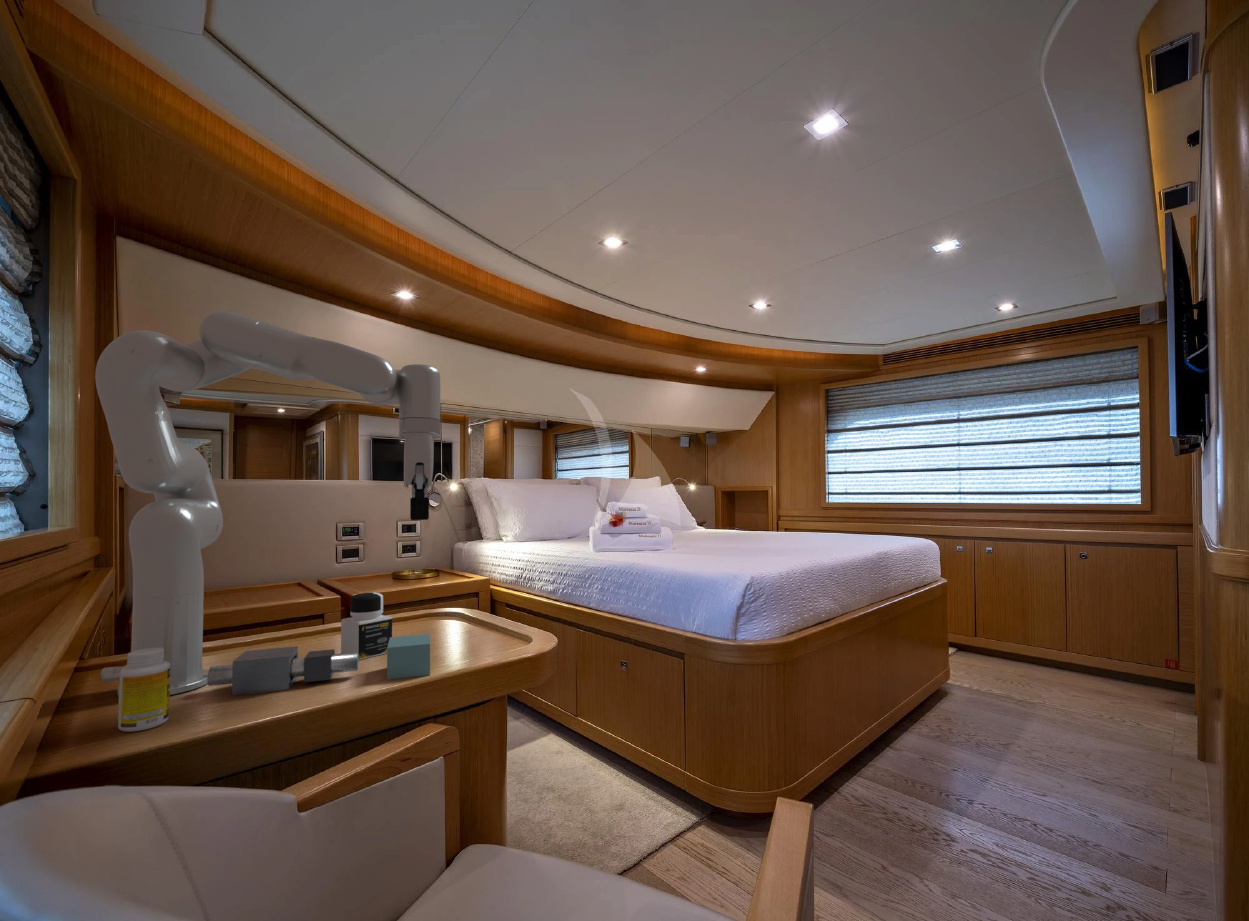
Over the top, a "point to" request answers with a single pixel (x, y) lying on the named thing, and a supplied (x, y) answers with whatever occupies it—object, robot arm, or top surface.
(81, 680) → the top surface
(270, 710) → the top surface
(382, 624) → the medicine bottle
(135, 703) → the supplement bottle
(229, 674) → the grey long rod
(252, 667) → the sleeve
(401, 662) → the block
